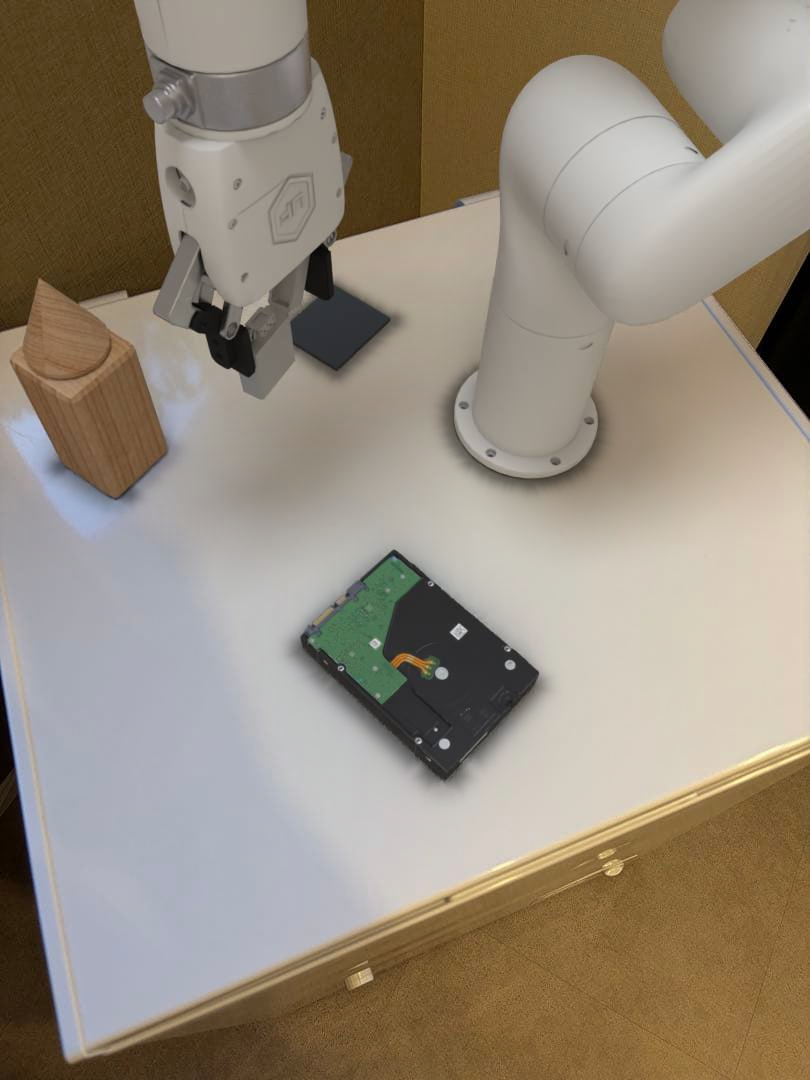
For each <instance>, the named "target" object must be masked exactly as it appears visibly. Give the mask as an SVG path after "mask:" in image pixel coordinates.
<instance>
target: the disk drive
mask: <svg viewBox="0 0 810 1080" xmlns="http://www.w3.org/2000/svg"><path fill="white" fill-rule="evenodd" d="M333 603H334V604H333V605H330V606H328V608H327V609H326V610H325V611H324V612H323V613H321V614H320V615H319V616H318V617H317V618H316V619H314V621H312V624H311V625H310V624H308V625H307V626H306V627H305V629H304V632H302V634H301V635H300V643H301V647H302V648H303V649H304V650H305V651H306V652H307V654H309V655H310V656H311V657H312V659H314V660H315V661H316V662H317V663H318V664H319V665H320V666H321V667H322V668H323V669H324V670H325V671H326V672H327V673H329V674H330V675H331V676H332V677H333V678H334V679H335V680H336V681H337V682H338V683H339V684H340V685H341V686H343V687H344V688H345V689H346V690H347V691H348V693H350V694H351V695H352V696H353V697H355V699H356V700H357V701H358V702H359V703H361V704H362V705H363V706H364V707H365V708H366V709H367V710H368V711H369V712H370V713H371V714H372V715H374V716H375V718H376V719H378V720H379V722H381V723H382V724H383V725H384V726H385V727H386V728H388V730H389V731H391V732H392V733H393V734H394V735H395V736H396V737H397V738H398V739H399V740H400V741H401V742H402V743H404V745H406V747H407V748H409V749H410V750H411V751H412V752H413V753H414V754H415V756H417V758H419V759H420V761H421V762H423V764H425V765H426V766H427V767H428V768H429V769H431V770H432V771H433V772H434V773H435V774H436V775H437V776H439V778H440V779H441V780H444V781H446V780H448V778H449V777H450V776H451V775H452V774H453V773H454V772H455V771H456V769H458V767H459V766H460V765H461V764H462V763H464V761H465V760H466V759H467V758H468V757H469V756H470V755H471V754H472V753H473V751H474V750H475V749H476V748H477V747H478V746H479V745H480V744H482V742H483V741H484V740H485V739H486V738H487V737H488V736H489V734H490V733H491V732H492V731H493V730H495V728H496V727H497V726H498V725H499V724H500V723H501V721H503V720H504V718H505V717H507V715H508V714H509V713H511V711H512V710H513V709H514V708H515V707H516V706H517V704H518V703H519V702H520V701H521V700H522V699H523V698H524V697H525V696H526V694H527V693H528V692H529V691H531V690H532V688H533V687H534V686H535V685H536V683H537V680H538V679H539V676H540V671H539V670H538V669H537V668H535V667H534V666H533V665H532V664H531V663H530V662H529V661H528V660H527V659H526V658H525V657H524V656H523V655H522V654H521V653H519V652H518V651H517V650H515V649H514V648H513V647H510V645H508V643H506V642H505V641H504V640H503V639H502V638H501V637H500V636H498V635H497V634H496V633H494V631H492V630H491V629H490V628H489V627H487V625H485V624H484V623H483V622H482V621H481V620H479V619H478V618H477V617H476V616H474V615H473V614H472V613H471V612H469V611H468V610H467V609H466V608H465V607H463V604H460V603H459V602H457V600H456V599H455V598H454V597H452V596H451V595H450V594H449V593H448V592H447V591H445V590H444V589H442V587H441V586H440V585H438V583H435V581H433V580H432V579H431V578H430V577H428V575H426V573H424V572H423V571H422V570H421V569H420V568H419V567H418V566H417V565H416V564H414V563H412V562H410V561H409V560H408V559H407V558H406V557H405V556H404V555H403V554H402V553H400V552H399V551H398V550H397V549H392V550H390V552H388V553H387V554H386V555H385V556H384V557H383V558H381V560H379V561H378V562H377V563H376V564H375V565H374V566H373V567H371V568H370V569H369V570H368V571H367V572H366V573H365V574H363V575H362V576H361V577H360V579H358V580H356V581H354V583H353V584H352V585H351V586H349V588H347V589H346V593H345V594H343V595H341V596H340V597H339V598H338V599H337V600H336V601H334V602H333Z"/></svg>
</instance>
